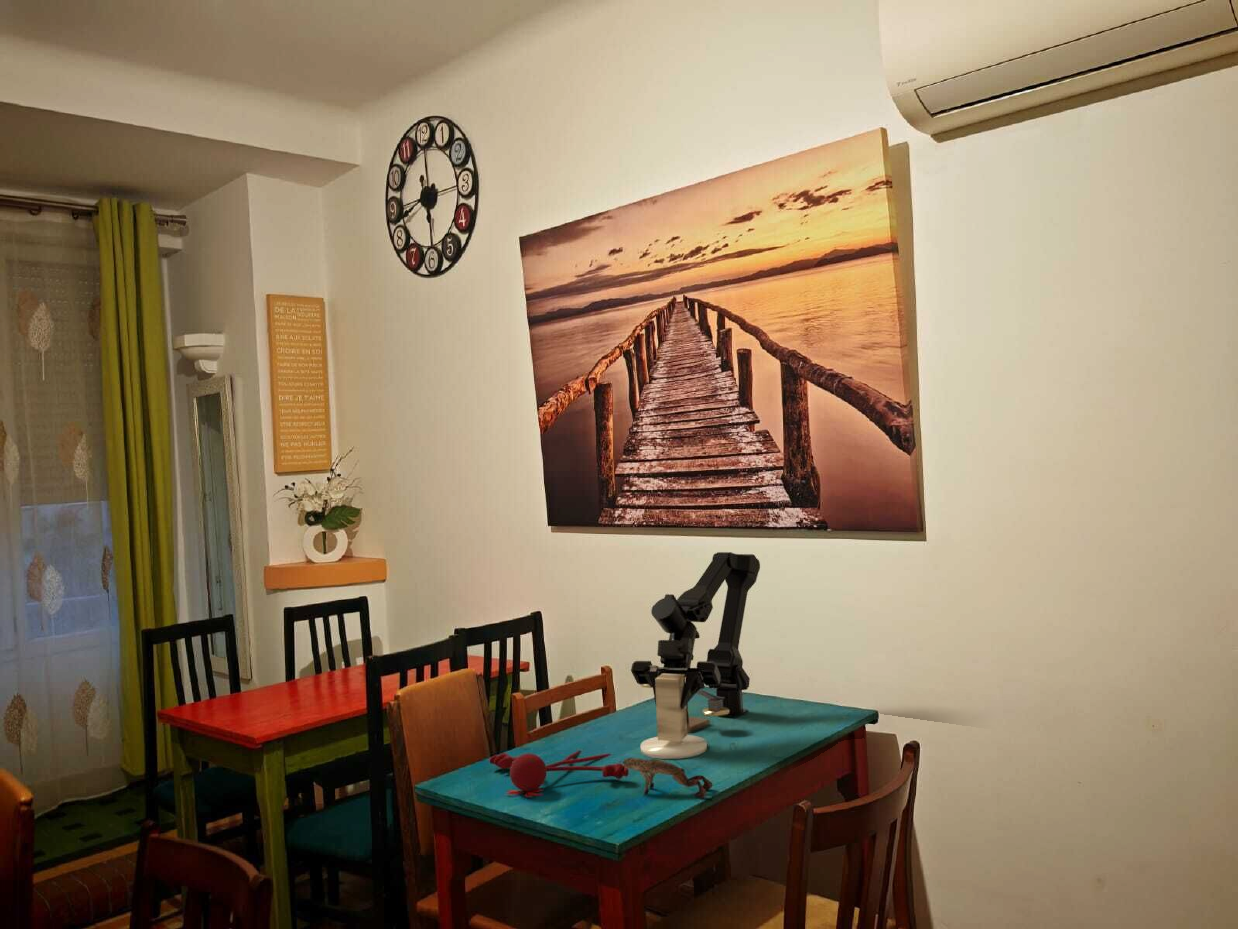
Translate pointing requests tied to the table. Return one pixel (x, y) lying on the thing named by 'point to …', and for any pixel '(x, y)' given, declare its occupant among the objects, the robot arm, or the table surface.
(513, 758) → the toy
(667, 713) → the birch block
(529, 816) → the table surface
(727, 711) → the balance
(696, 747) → the saucer
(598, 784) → the table surface
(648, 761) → the toy
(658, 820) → the table surface
